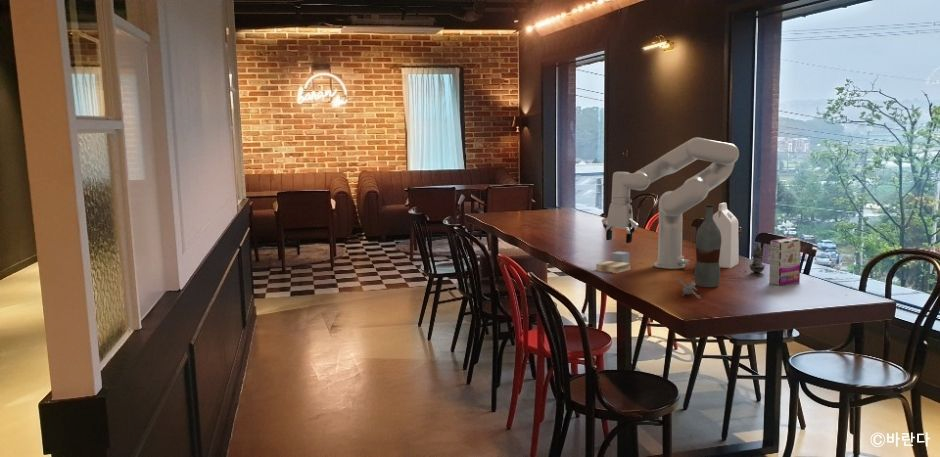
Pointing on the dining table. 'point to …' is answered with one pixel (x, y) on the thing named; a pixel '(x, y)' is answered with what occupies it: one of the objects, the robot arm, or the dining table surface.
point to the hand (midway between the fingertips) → (618, 241)
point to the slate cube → (620, 257)
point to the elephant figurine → (689, 288)
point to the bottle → (708, 251)
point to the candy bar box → (785, 261)
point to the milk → (727, 236)
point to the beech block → (613, 266)
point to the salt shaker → (757, 263)
